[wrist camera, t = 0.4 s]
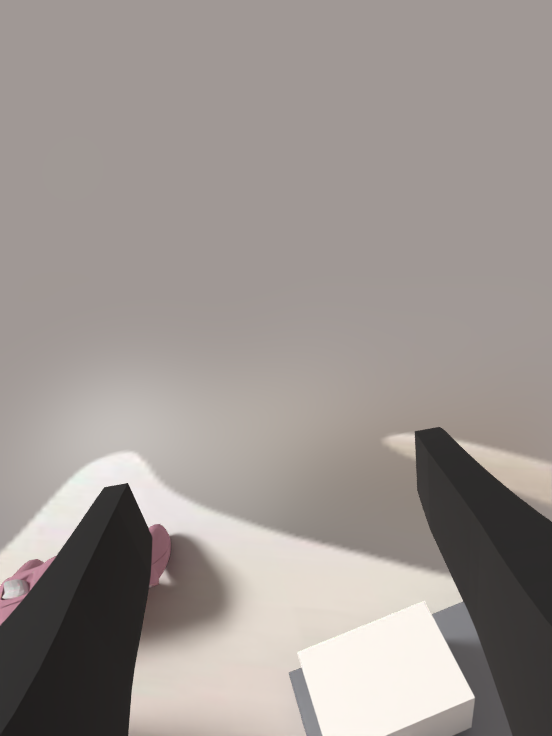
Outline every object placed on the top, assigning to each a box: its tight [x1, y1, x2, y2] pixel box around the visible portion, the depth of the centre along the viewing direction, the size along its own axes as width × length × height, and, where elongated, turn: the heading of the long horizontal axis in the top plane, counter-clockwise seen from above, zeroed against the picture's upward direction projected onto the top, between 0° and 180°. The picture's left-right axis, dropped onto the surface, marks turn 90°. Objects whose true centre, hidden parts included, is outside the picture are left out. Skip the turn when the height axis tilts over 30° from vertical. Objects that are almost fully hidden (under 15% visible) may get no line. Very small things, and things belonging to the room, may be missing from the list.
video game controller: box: [0, 524, 171, 625], centre depth 32 cm, size 10×5×7 cm, turn 101°
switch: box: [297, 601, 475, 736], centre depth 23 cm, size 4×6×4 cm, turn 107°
